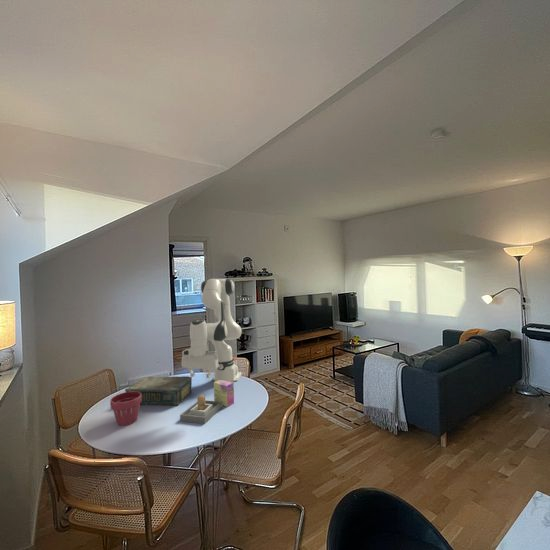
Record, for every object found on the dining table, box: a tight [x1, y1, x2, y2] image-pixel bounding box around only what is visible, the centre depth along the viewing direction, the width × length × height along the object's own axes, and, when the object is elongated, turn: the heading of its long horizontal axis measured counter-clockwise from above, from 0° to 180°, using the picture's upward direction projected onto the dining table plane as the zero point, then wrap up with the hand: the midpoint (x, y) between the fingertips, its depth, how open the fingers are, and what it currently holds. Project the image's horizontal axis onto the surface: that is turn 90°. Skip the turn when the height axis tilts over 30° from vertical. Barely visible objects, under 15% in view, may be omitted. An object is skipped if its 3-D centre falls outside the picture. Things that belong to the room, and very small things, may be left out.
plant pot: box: [109, 391, 142, 427], centre depth 147 cm, size 14×14×13 cm
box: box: [213, 380, 235, 408], centre depth 164 cm, size 10×6×12 cm, turn 56°
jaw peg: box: [196, 394, 206, 410], centre depth 152 cm, size 4×4×8 cm
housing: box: [179, 399, 223, 425], centre depth 152 cm, size 18×14×4 cm
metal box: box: [124, 375, 193, 407], centre depth 174 cm, size 21×32×10 cm, turn 83°
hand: (200, 376), depth 152 cm, fingers open, 8 cm apart
